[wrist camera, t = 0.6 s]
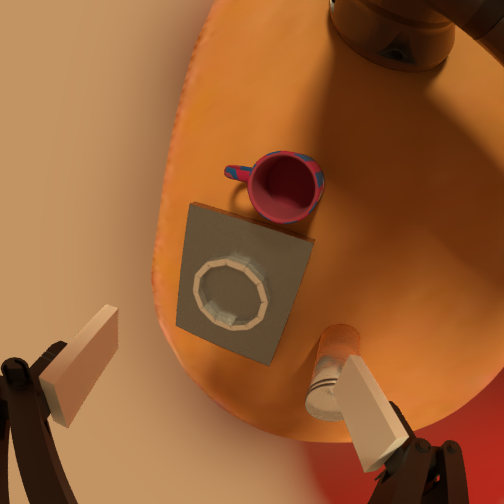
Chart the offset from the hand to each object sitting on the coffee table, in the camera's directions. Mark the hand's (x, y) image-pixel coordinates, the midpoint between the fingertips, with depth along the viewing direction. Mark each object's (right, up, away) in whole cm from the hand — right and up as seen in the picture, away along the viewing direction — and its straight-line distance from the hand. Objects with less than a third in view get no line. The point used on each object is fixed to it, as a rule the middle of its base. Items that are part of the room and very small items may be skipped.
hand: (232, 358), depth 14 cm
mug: (+5, +14, +17) cm, 22 cm away
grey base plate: (-1, +1, +23) cm, 23 cm away
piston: (+13, -7, +21) cm, 25 cm away
